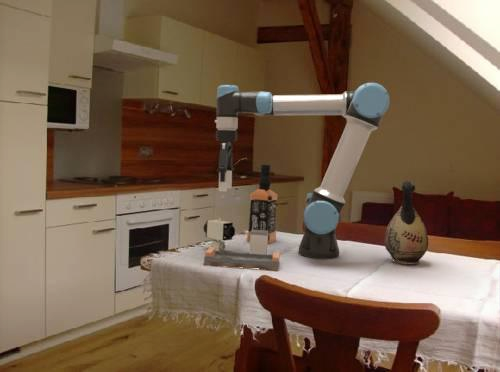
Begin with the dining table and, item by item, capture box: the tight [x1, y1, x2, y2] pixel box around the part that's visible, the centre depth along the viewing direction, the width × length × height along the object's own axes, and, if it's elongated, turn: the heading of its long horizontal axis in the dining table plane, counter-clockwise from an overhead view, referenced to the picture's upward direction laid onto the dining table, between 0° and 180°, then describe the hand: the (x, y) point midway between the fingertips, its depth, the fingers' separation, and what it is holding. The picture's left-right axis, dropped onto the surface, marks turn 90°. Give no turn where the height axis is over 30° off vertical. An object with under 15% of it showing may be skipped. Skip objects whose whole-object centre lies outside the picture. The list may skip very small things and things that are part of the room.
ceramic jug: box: [383, 180, 429, 265], centre depth 189 cm, size 17×15×30 cm
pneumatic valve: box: [203, 217, 236, 252], centre depth 193 cm, size 6×12×12 cm, turn 53°
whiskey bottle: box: [246, 163, 279, 245], centre depth 215 cm, size 10×10×32 cm
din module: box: [248, 230, 269, 255], centre depth 187 cm, size 6×5×9 cm
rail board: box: [203, 246, 281, 272], centre depth 173 cm, size 24×12×4 cm, turn 84°
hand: (225, 189), depth 185 cm, fingers open, 13 cm apart
